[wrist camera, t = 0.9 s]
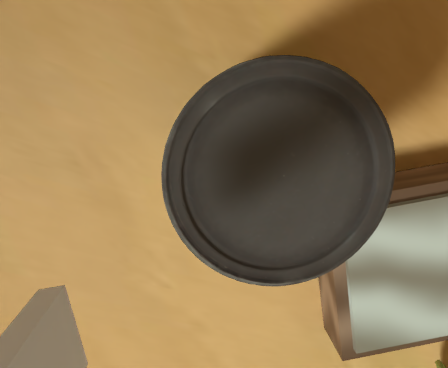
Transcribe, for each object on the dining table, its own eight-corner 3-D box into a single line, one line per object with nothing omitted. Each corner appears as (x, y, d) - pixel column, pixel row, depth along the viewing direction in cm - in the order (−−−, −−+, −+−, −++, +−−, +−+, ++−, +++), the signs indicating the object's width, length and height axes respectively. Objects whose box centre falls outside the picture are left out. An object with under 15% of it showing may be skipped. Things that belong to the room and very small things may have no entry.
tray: (308, 188, 30) (329, 205, 25) (465, 159, 31) (515, 170, 26) (324, 327, 34) (345, 366, 29) (465, 299, 34) (509, 333, 29)
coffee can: (182, 69, 27) (166, 42, 14) (311, 81, 28) (419, 66, 14) (175, 197, 30) (156, 283, 16) (295, 204, 31) (373, 291, 17)
